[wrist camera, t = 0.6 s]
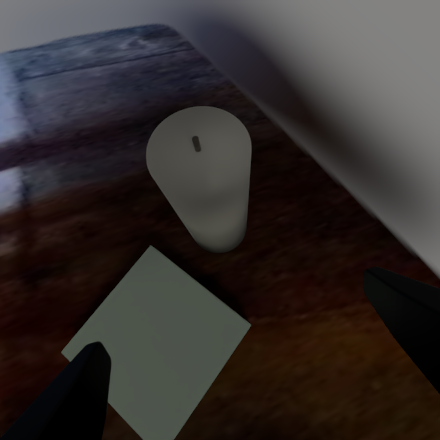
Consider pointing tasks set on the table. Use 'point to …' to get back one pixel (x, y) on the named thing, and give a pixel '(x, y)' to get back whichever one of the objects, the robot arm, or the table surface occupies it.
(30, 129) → the table surface
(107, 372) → the robot arm
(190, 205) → the candle
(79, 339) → the stand
